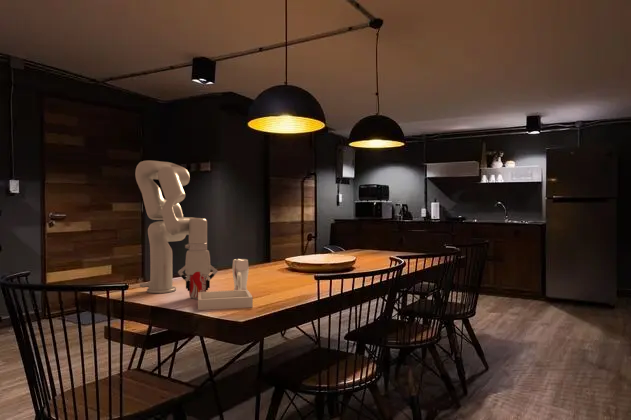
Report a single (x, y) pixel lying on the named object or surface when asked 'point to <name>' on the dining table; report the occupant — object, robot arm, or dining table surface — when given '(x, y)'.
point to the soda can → (197, 284)
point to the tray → (224, 299)
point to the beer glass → (240, 273)
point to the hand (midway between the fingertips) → (197, 289)
